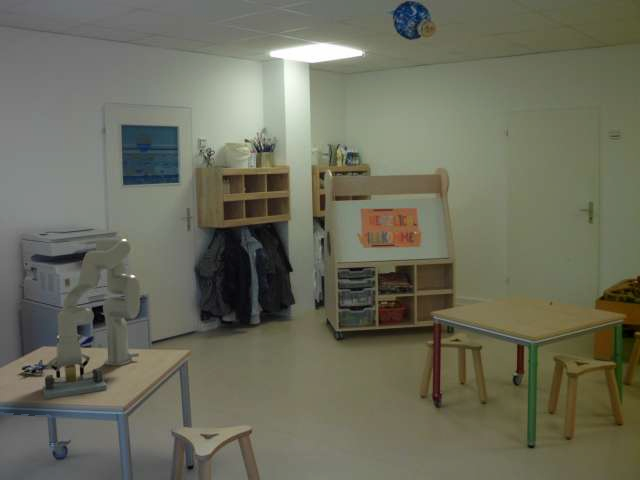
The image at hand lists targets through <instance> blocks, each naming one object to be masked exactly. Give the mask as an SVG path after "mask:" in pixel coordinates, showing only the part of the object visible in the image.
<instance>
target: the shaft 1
mask: <svg viewBox="0 0 640 480" xmlns="http://www.w3.org/2000/svg"><path fill="white" fill-rule="evenodd" d="M44 383H45V384H44V386H45V387H46V390H52V388H53V387H54V386H53V385H57V384H64V383H66V377H65V376H62V377H61V376H60V378H56V377H54V375H53V374H48V375H46V376H45V377H44Z"/></svg>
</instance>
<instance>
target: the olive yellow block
mask: <svg viewBox="0 0 640 480" xmlns="http://www.w3.org/2000/svg"><path fill="white" fill-rule="evenodd" d="M63 368H64V377H66V383H71V382H77V372H76V371H77V369H76V365H69V366H63Z"/></svg>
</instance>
